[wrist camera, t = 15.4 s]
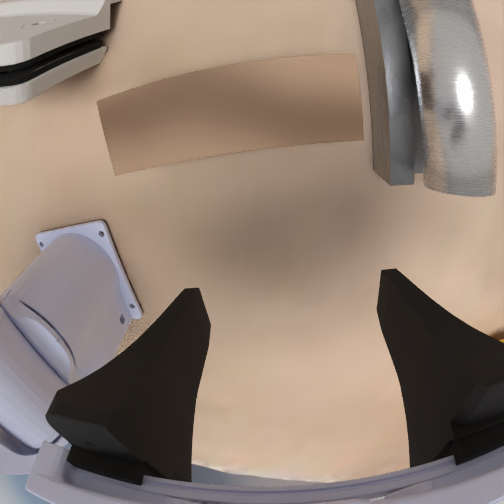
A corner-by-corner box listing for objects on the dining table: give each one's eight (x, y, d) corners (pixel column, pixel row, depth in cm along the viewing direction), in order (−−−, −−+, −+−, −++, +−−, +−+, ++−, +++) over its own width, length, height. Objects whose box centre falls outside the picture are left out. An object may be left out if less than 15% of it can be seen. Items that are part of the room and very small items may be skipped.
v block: (450, 166, 17) (474, 182, 15) (373, 169, 18) (390, 185, 15) (438, -1, 11) (462, -9, 9) (352, -12, 12) (367, -27, 9)
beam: (340, 124, 17) (364, 140, 13) (150, 151, 18) (115, 175, 14) (333, 61, 15) (355, 54, 11) (137, 93, 16) (96, 101, 12)
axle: (473, 179, 14) (510, 196, 10) (413, 178, 15) (440, 196, 11) (453, 12, 10) (484, -9, 6) (389, 3, 11) (409, -25, 7)
